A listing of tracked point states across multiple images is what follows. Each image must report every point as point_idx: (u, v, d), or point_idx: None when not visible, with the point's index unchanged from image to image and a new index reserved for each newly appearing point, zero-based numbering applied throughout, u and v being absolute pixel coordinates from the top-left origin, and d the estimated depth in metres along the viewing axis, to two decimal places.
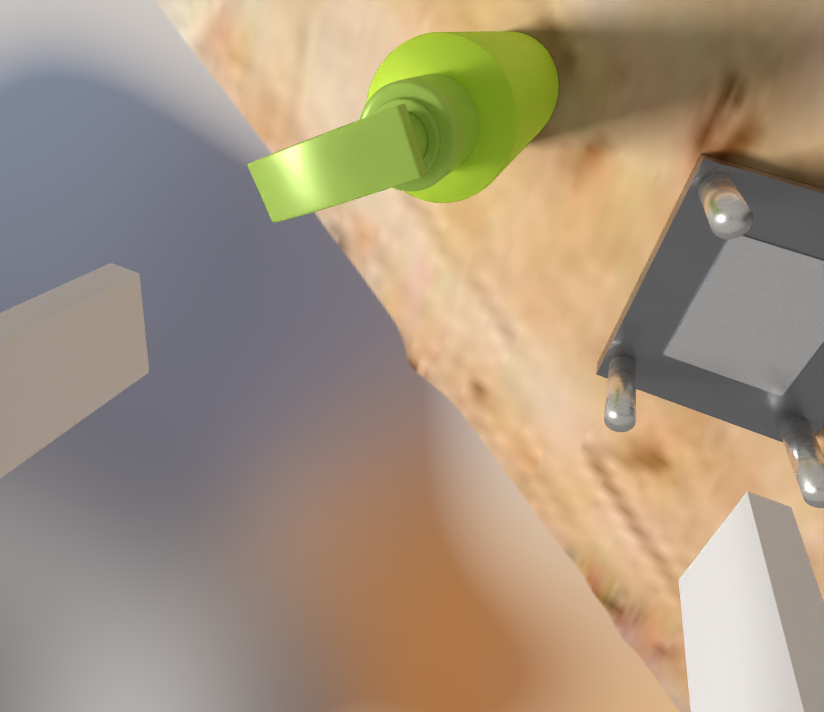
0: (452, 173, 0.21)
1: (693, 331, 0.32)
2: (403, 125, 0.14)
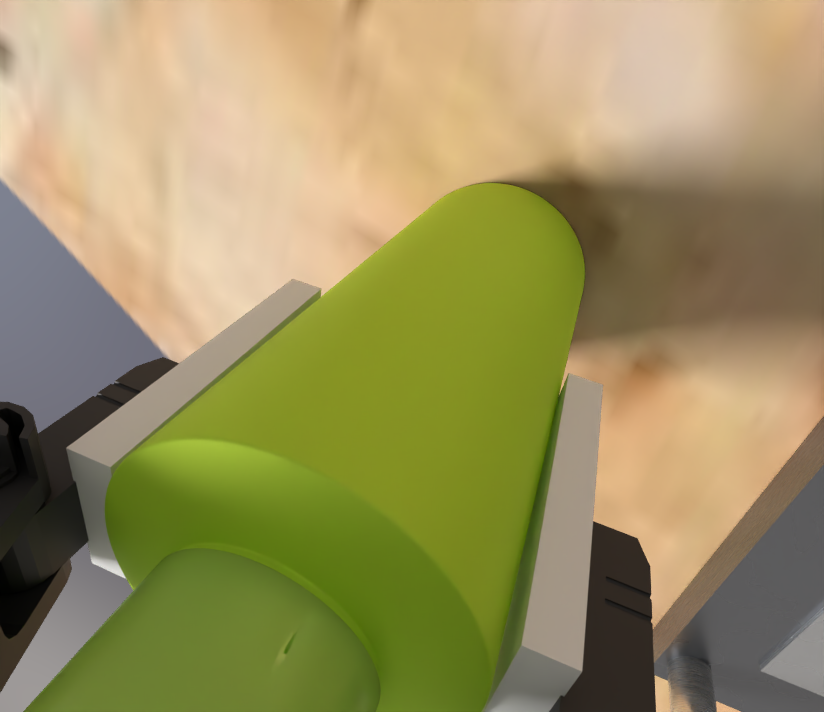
0: None
1: (816, 652, 0.19)
2: None
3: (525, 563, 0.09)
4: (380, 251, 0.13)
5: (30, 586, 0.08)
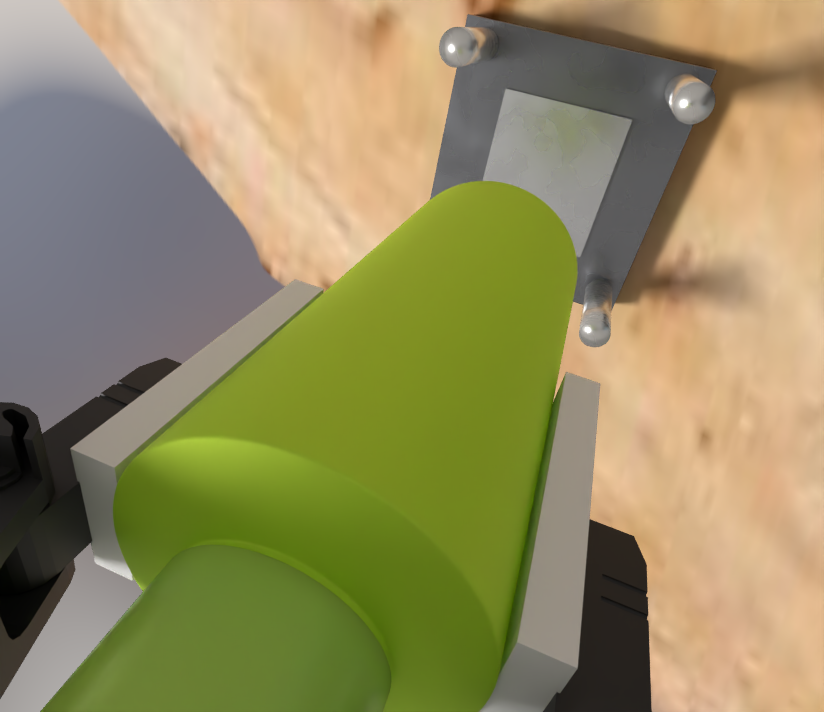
0: None
1: None
2: None
3: (522, 561, 0.09)
4: (377, 249, 0.13)
5: (34, 587, 0.08)
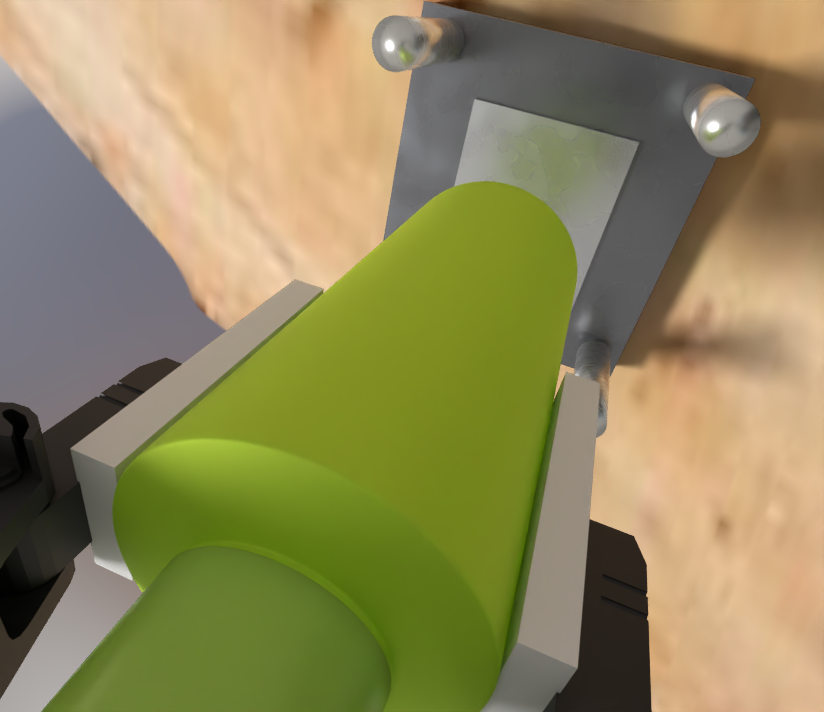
0: None
1: None
2: None
3: (522, 561, 0.09)
4: (377, 250, 0.13)
5: (34, 587, 0.08)
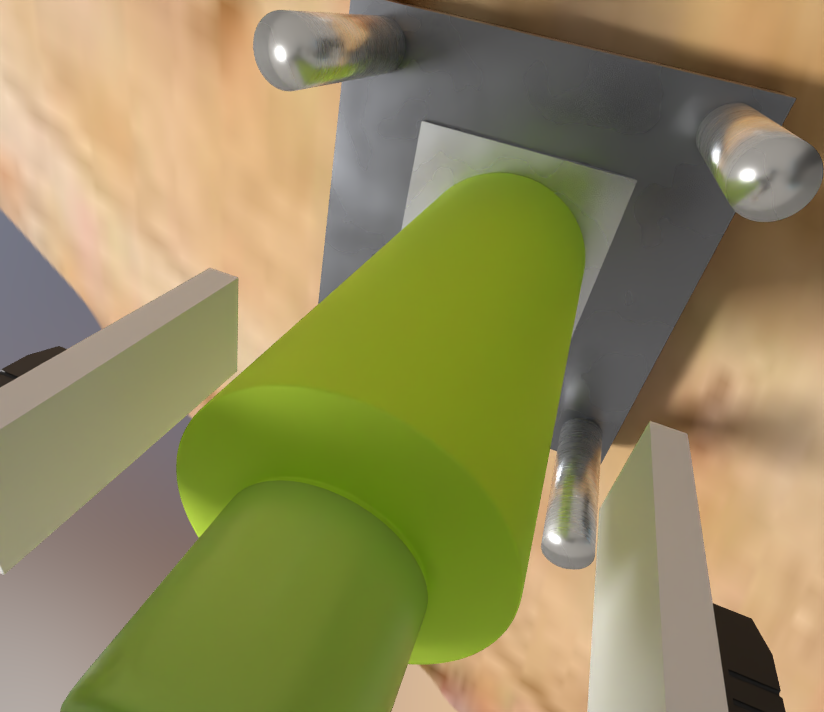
0: None
1: None
2: None
3: (637, 654, 0.08)
4: (401, 234, 0.14)
5: None
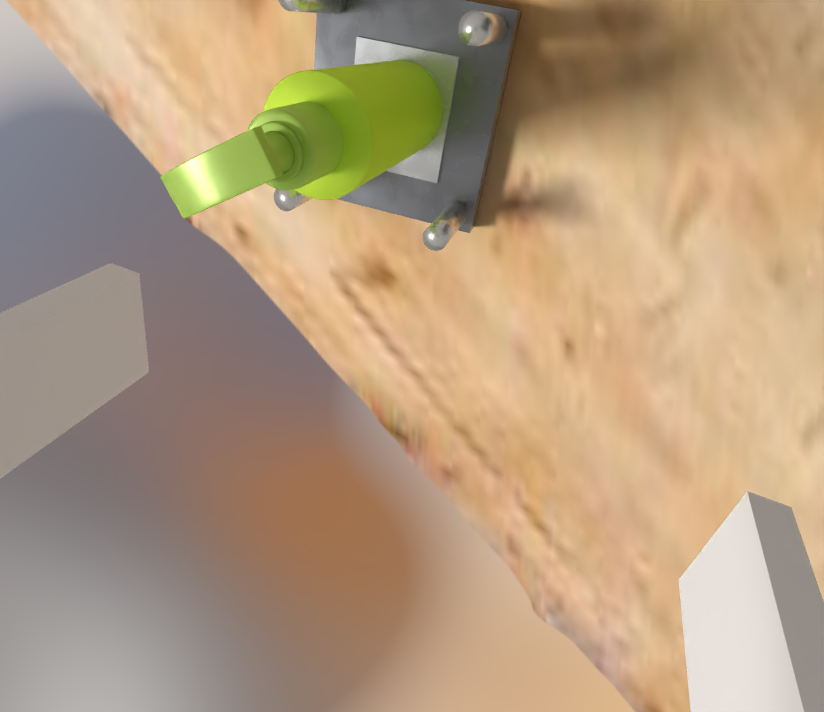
0: (331, 176, 0.27)
1: None
2: (258, 141, 0.20)
3: None
4: None
5: None
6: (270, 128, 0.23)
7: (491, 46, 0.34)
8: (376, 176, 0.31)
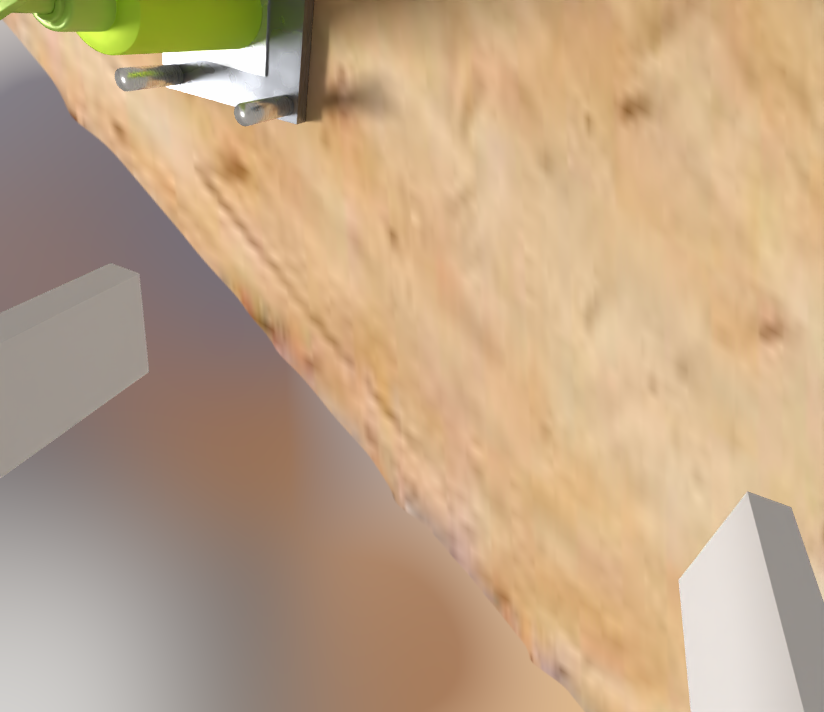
0: (112, 31, 0.33)
1: None
2: None
3: None
4: None
5: None
6: None
7: None
8: (172, 46, 0.36)
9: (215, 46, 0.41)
